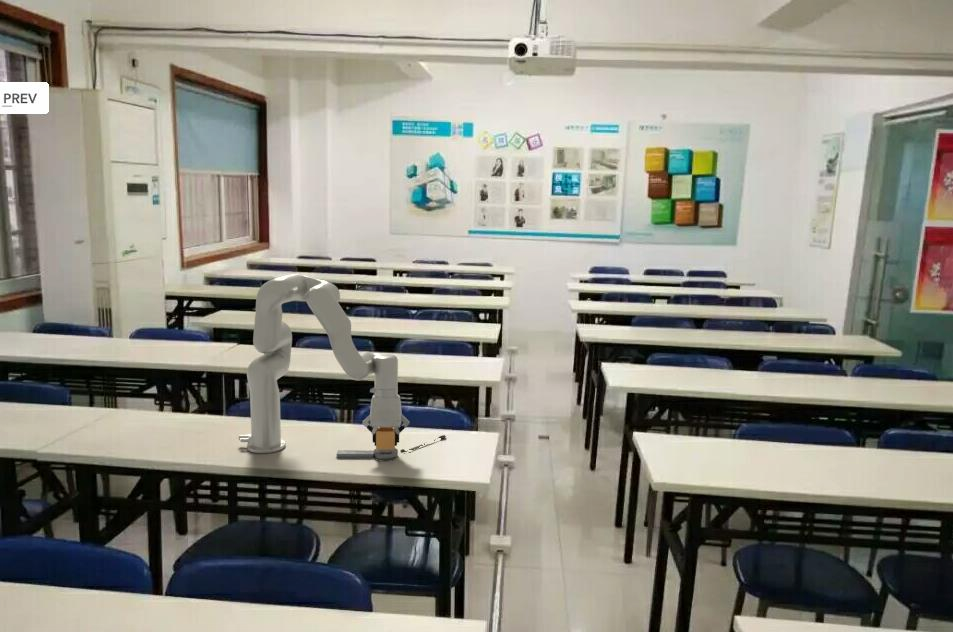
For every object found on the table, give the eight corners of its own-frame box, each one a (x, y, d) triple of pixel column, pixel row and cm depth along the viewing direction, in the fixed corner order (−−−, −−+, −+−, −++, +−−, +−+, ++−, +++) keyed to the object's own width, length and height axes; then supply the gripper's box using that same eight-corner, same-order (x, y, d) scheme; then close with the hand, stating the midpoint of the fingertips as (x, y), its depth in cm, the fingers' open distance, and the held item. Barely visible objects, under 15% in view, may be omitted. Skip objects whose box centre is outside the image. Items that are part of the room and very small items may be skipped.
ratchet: (335, 460, 217) (335, 440, 216) (338, 451, 225) (338, 432, 224) (397, 461, 219) (397, 440, 217) (398, 452, 226) (398, 432, 225)
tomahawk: (412, 460, 223) (412, 457, 223) (399, 453, 227) (399, 450, 227) (455, 443, 238) (456, 440, 238) (442, 437, 243) (442, 434, 242)
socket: (376, 449, 219) (376, 431, 218) (377, 442, 224) (377, 425, 223) (394, 449, 219) (394, 432, 218) (395, 442, 225) (395, 425, 224)
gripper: (358, 395, 214) (358, 448, 217) (412, 395, 215) (411, 448, 218) (360, 388, 222) (360, 440, 225) (412, 389, 223) (412, 440, 226)
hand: (385, 443), depth 222 cm, fingers closed on socket, 6 cm apart
